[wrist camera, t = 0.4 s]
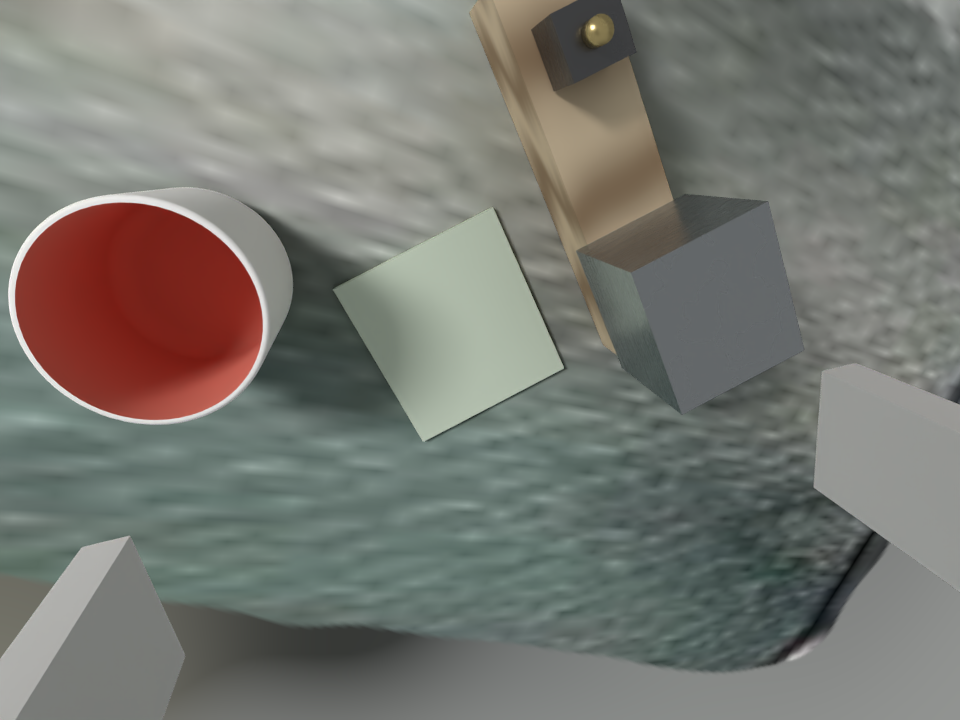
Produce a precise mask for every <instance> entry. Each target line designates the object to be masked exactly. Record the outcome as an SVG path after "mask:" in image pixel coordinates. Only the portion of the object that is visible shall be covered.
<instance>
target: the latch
mask: <svg viewBox="0 0 960 720" xmlns="http://www.w3.org/2000/svg"><path fill="white" fill-rule="evenodd" d="M531 31H532V34H533V36H534V39H535V42H536V45H537V47H538V50H539V53H540V55H541V58H542V61H543V64H544V66H545V69H546V72H547V74H548V77H549V80H550V83H551V85H552V88H553V91H554V92H555V91H557V90H560V89H562V88H565V87H567V86H570V85H572V84H575V83H577V82H579V81H581V80H583V79H585V78H587V77H589V76H591V75H593V74H594V73H596V72H598V71H600V70H602V69H604V68H606V67H608V66H610V65H612V64H614V63H616V62H618V61H620V60H622V59H624V58H626V57H628V56H630V55H632V54H634V53H636V49H635V46H634V43H633V39H632V36H631V33H630V30H629V26H628V23H627V20H626V17H625V13H624V10H623V7H622V3H621V0H577V1H575V2H573V3H571V4H569V5H567V6H565V7H563V8H561V9H559V10H557V11H555V12H553V13H551V14H549V15H548V16H547V17H546V18H545V19H543V20H542V21H541V22H540V23H538V24H537V25H536V26H535V27H534V28H532V29H531Z"/></svg>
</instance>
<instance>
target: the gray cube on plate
mask: <svg viewBox="0 0 960 720" xmlns="http://www.w3.org/2000/svg"><path fill="white" fill-rule="evenodd" d="M576 253H577V255H578V258H579V260H580V263H581V265H582V268H583V270H584V273H585V276H586V278H587V281H588V283H589V286H590V288H591V291H592V293H593V296H594V298H595V301H596V303H597V306H598V308H599V311H600V313H601V316H602V318H603V321H604V324H605V326H606V329H607V331H608V334H609V336H610V339H611V341H612V344H613V346H614V349H615V351H616V354H617V356H618V359H619V361H620V364H621V366H622V368H623V369H624V370H625V371H627V372H628V373H629V374H631V375H632V376H633V377H634V378H636V379H637V380H638V381H640V382H641V383H642V384H643V385H645V386H646V387H647V388H648V389H650V390H651V391H652V392H654V393H655V394H656V395H657V396H659V397H660V398H661V399H663V400H664V401H665V402H666V403H668V404H669V405H670V406H672V407H673V408H674V409H675V410H677V411H678V412H679V413H681V414H684V413H686V412H688V411H690V410H692V409H694V408H696V407H698V406H699V405H701V404H703V403H705V402H707V401H709V400H711V399H713V398H715V397H717V396H718V395H720V394H722V393H724V392H726V391H728V390H730V389H732V388H734V387H735V386H737V385H739V384H741V383H743V382H745V381H747V380H749V379H751V378H752V377H754V376H756V375H758V374H760V373H762V372H764V371H766V370H768V369H770V368H771V367H773V366H775V365H777V364H779V363H781V362H783V361H785V360H787V359H788V358H790V357H792V356H794V355H796V354H798V353H800V352H802V351H804V346H803V342H802V338H801V334H800V329H799V325H798V321H797V317H796V313H795V309H794V305H793V301H792V297H791V293H790V288H789V284H788V280H787V276H786V272H785V268H784V264H783V260H782V256H781V252H780V248H779V243H778V239H777V235H776V231H775V227H774V223H773V219H772V215H771V211H770V207H769V202H768V201H759V200H747V199H736V198H724V197H712V196H701V195H689V194H684V195H683V196H681V197H679V198H677V199H675V200H673V201H671V202H669V203H667V204H665V205H663V206H661V207H659V208H657V209H655V210H654V211H652V212H650V213H648V214H646V215H644V216H642V217H640V218H638V219H636V220H634V221H632V222H630V223H628V224H626V225H625V226H623V227H621V228H619V229H617V230H615V231H613V232H611V233H609V234H607V235H605V236H603V237H601V238H599V239H597V240H596V241H594V242H592V243H590V244H588V245H586V246H584V247H582V248H580V249H578V250H576Z"/></svg>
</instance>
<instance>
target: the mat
mask: <svg viewBox="0 0 960 720" xmlns="http://www.w3.org/2000/svg"><path fill="white" fill-rule="evenodd" d="M333 291H334V292H335V294H336V296H337V297H338V299H339V301H340V303H341V304H342V306H343V308H344V309H345V311H346V313H347V314H348V316H349V318H350V319H351V321H352V323H353V324H354V326H355V328H356V330H357V331H358V333H359V335H360V336H361V338H362V340H363V341H364V343H365V345H366V346H367V348H368V350H369V351H370V353H371V355H372V357H373V358H374V360H375V362H376V363H377V365H378V367H379V368H380V370H381V372H382V373H383V375H384V377H385V378H386V380H387V382H388V383H389V385H390V387H391V389H392V390H393V392H394V394H395V395H396V397H397V399H398V400H399V402H400V404H401V405H402V407H403V409H404V410H405V412H406V414H407V416H408V417H409V419H410V421H411V422H412V424H413V426H414V427H415V429H416V431H417V432H418V434H419V436H420V437H421V439H422V441H423V442H424V441H426V440H428V439H430V438H432V437H434V436H436V435H438V434H439V433H441V432H443V431H445V430H447V429H449V428H451V427H453V426H455V425H457V424H459V423H460V422H462V421H464V420H466V419H468V418H470V417H472V416H474V415H476V414H478V413H480V412H482V411H483V410H485V409H487V408H489V407H491V406H493V405H495V404H497V403H499V402H501V401H503V400H504V399H506V398H508V397H510V396H512V395H514V394H516V393H518V392H520V391H522V390H524V389H526V388H527V387H529V386H531V385H533V384H535V383H537V382H539V381H541V380H543V379H545V378H547V377H548V376H550V375H552V374H554V373H556V372H558V371H560V370H562V369H564V367H563V364H562V362H561V360H560V358H559V355H558V353H557V351H556V348H555V346H554V344H553V342H552V339H551V337H550V335H549V333H548V330H547V328H546V326H545V324H544V321H543V319H542V317H541V315H540V312H539V310H538V308H537V306H536V303H535V301H534V299H533V297H532V294H531V292H530V290H529V288H528V285H527V283H526V281H525V278H524V276H523V274H522V272H521V269H520V267H519V265H518V263H517V260H516V258H515V256H514V254H513V251H512V249H511V247H510V245H509V242H508V240H507V238H506V236H505V233H504V231H503V229H502V227H501V224H500V222H499V220H498V218H497V215H496V213H495V211H494V208H493V207H491V208H489V209H487V210H485V211H483V212H481V213H479V214H477V215H475V216H473V217H471V218H469V219H467V220H466V221H464V222H462V223H460V224H458V225H456V226H454V227H452V228H450V229H448V230H446V231H444V232H442V233H440V234H438V235H436V236H434V237H432V238H430V239H429V240H427V241H425V242H423V243H421V244H419V245H417V246H415V247H413V248H411V249H409V250H407V251H405V252H403V253H401V254H399V255H397V256H395V257H393V258H391V259H390V260H388V261H386V262H384V263H382V264H380V265H378V266H376V267H374V268H372V269H370V270H368V271H366V272H364V273H362V274H360V275H358V276H356V277H354V278H352V279H351V280H349V281H347V282H345V283H343V284H341V285H339V286H337V287H335V288H333Z"/></svg>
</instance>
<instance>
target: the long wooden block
mask: <svg viewBox="0 0 960 720" xmlns="http://www.w3.org/2000/svg"><path fill="white" fill-rule="evenodd" d="M575 1H577V0H478V1H477V2H476V4H475V5H474V7H473V8H472V10H471V11H470V16H471V18H472V21H473V23H474V26H475V28H476V31H477V33H478V36H479V38H480V41H481V43H482V46H483V48H484V51H485V53H486V56H487V58H488V60H489V63H490V65H491V68H492V70H493V73H494V75H495V78H496V80H497V83H498V85H499V88H500V90H501V93H502V95H503V98H504V100H505V103H506V105H507V108H508V110H509V113H510V115H511V117H512V120H513V122H514V125H515V127H516V130H517V132H518V135H519V137H520V140H521V142H522V145H523V147H524V150H525V152H526V155H527V157H528V160H529V162H530V165H531V167H532V170H533V172H534V174H535V177H536V179H537V182H538V184H539V187H540V189H541V192H542V194H543V197H544V199H545V202H546V204H547V207H548V209H549V212H550V214H551V217H552V219H553V222H554V224H555V227H556V229H557V231H558V234H559V236H560V239H561V241H562V244H563V246H564V249H565V251H566V254H567V256H568V259H569V261H570V264H571V266H572V269H573V271H574V274H575V276H576V279H577V281H578V284H579V286H580V288H581V291H582V293H583V296H584V298H585V301H586V303H587V306H588V308H589V311H590V313H591V316H592V318H593V321H594V323H595V326H596V328H597V331H598V333H599V336H600V338H601V341H602V343H603V345H604V346H605V347H607V348H608V349H609V350H611V351H612V352H613V353H615V354H616V351H615V349H614V346H613V344H612V341H611V339H610V336H609V334H608V331H607V329H606V326H605V324H604V321H603V318H602V316H601V313H600V311H599V308H598V306H597V303H596V301H595V298H594V296H593V293H592V291H591V288H590V286H589V283H588V281H587V278H586V276H585V273H584V270H583V268H582V265H581V263H580V260H579V258H578V255H577V253H576V250H578V249H580V248H582V247H584V246H586V245H588V244H590V243H592V242H594V241H596V240H597V239H599V238H601V237H603V236H605V235H607V234H609V233H611V232H613V231H615V230H617V229H619V228H621V227H623V226H625V225H626V224H628V223H630V222H632V221H634V220H636V219H638V218H640V217H642V216H644V215H646V214H648V213H650V212H652V211H654V210H655V209H657V208H659V207H661V206H663V205H665V204H667V203H669V202H671V201H673V197H672V194H671V191H670V187H669V184H668V181H667V178H666V175H665V171H664V168H663V165H662V162H661V159H660V155H659V152H658V149H657V146H656V142H655V139H654V136H653V133H652V130H651V126H650V123H649V120H648V117H647V114H646V110H645V107H644V104H643V101H642V98H641V94H640V91H639V88H638V85H637V82H636V78H635V75H634V72H633V69H632V65H631V62H630V59H629V56H628V57H626V58H624V59H622V60H620V61H618V62H616V63H614V64H612V65H610V66H608V67H606V68H604V69H602V70H600V71H598V72H596V73H594V74H593V75H591V76H589V77H587V78H585V79H583V80H581V81H579V82H577V83H575V84H572V85H570V86H567V87H565V88H562V89H560V90H557V91H555V92H554V91H553V88H552V85H551V83H550V80H549V77H548V74H547V72H546V69H545V66H544V64H543V61H542V58H541V55H540V53H539V50H538V47H537V45H536V42H535V39H534V36H533V34H532V31H531V29H532V28H534V27H535V26H536V25H537V24H538V23H540V22H541V21H542V20H543V19H545V18H546V17H547V16H548V15H549V14H551V13H553V12H555V11H557V10H559V9H561V8H563V7H565V6H567V5H569V4H571V3H573V2H575ZM616 355H617V354H616Z"/></svg>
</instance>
